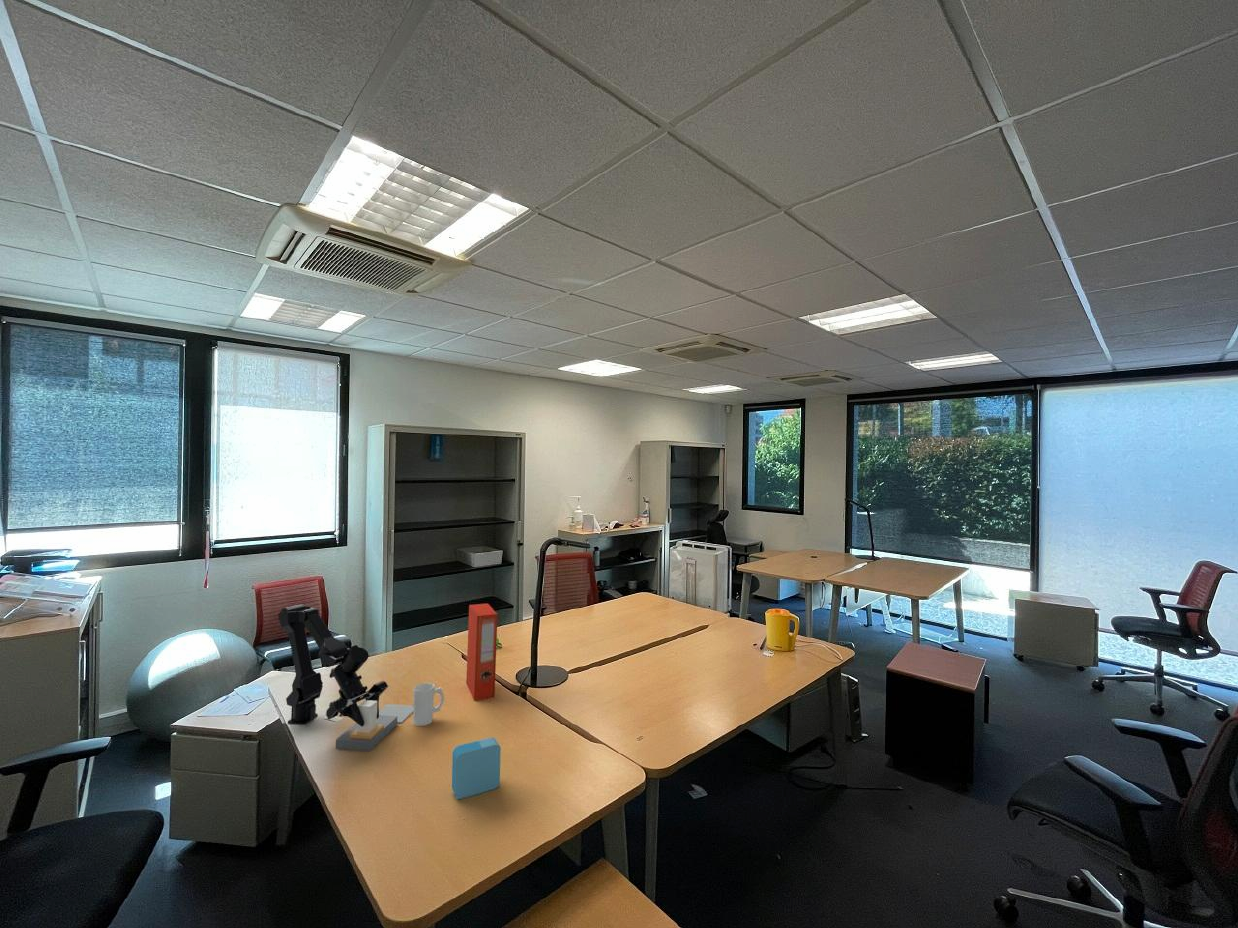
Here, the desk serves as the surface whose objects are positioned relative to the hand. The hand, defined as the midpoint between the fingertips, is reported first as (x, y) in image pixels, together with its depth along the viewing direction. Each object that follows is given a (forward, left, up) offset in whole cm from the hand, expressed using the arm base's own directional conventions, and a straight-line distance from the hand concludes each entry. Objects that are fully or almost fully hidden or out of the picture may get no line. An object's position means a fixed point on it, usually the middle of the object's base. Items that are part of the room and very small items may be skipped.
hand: (370, 721), depth 155 cm
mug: (+12, +15, -7) cm, 21 cm away
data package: (+42, -19, -7) cm, 46 cm away
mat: (-2, +18, -7) cm, 20 cm away
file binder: (+21, +41, -7) cm, 47 cm away
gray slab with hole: (-3, +3, -7) cm, 8 cm away
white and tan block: (-1, 0, -6) cm, 7 cm away
